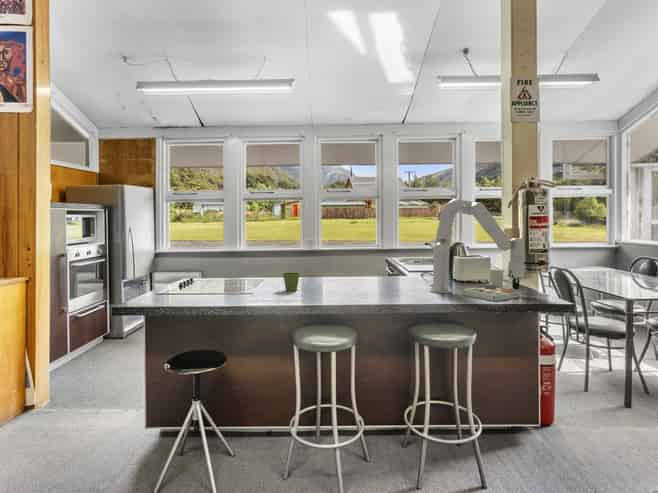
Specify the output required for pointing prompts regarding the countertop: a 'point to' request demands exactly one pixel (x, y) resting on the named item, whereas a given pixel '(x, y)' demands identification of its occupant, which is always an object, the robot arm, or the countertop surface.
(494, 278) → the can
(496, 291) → the birch plate
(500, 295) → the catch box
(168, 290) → the countertop surface
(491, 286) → the charcoal tile
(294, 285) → the plant pot
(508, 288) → the terracotta tile
